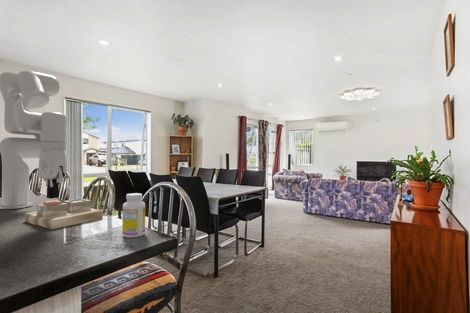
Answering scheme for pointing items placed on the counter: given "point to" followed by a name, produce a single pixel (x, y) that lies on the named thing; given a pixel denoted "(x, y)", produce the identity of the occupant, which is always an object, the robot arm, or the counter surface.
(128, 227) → the supplement bottle
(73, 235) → the counter surface
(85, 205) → the key panel
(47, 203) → the terracotta key
